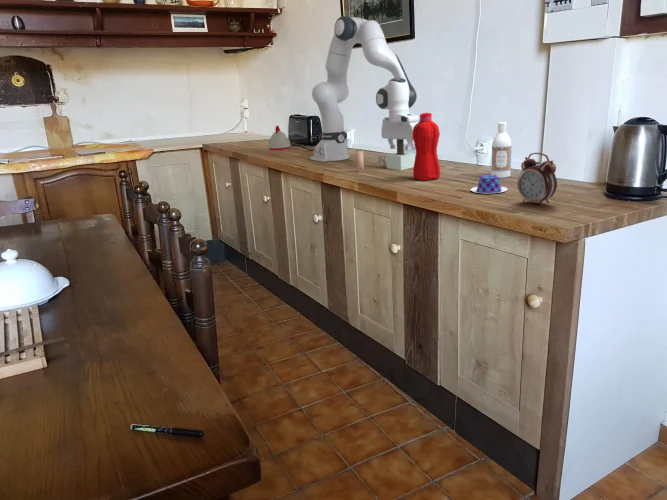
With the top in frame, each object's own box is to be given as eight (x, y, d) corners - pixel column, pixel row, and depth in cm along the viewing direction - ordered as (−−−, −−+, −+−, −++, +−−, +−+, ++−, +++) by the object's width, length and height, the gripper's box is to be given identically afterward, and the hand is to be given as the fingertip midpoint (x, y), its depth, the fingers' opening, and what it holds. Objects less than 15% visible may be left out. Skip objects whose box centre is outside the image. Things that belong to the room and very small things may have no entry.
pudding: (494, 197, 166) (494, 180, 164) (463, 192, 175) (463, 177, 173) (514, 190, 173) (515, 174, 171) (483, 186, 182) (484, 171, 180)
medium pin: (356, 172, 228) (354, 151, 225) (361, 171, 230) (360, 150, 227) (360, 172, 226) (359, 152, 223) (365, 171, 227) (364, 151, 225)
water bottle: (406, 179, 204) (404, 114, 196) (430, 175, 207) (429, 111, 200) (419, 182, 195) (417, 114, 188) (443, 178, 199) (443, 112, 192)
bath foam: (491, 178, 193) (492, 123, 187) (491, 174, 199) (492, 122, 193) (510, 178, 191) (512, 122, 185) (510, 174, 197) (512, 121, 191)
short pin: (377, 167, 236) (376, 156, 234) (382, 166, 237) (381, 155, 236) (382, 168, 233) (381, 157, 232) (386, 167, 235) (386, 156, 233)
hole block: (386, 168, 232) (386, 154, 230) (400, 165, 237) (400, 152, 235) (401, 169, 225) (400, 156, 223) (415, 166, 230) (414, 153, 228)
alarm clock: (515, 202, 156) (517, 152, 151) (525, 199, 158) (527, 150, 153) (547, 208, 147) (550, 155, 142) (557, 205, 149) (561, 152, 145)
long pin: (396, 167, 231) (395, 136, 227) (400, 166, 233) (399, 135, 228) (400, 168, 229) (400, 136, 225) (405, 167, 231) (404, 135, 226)
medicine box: (415, 161, 244) (415, 143, 241) (416, 163, 240) (415, 144, 237) (398, 162, 245) (398, 144, 242) (398, 164, 240) (398, 145, 238)
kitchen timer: (266, 151, 327) (263, 127, 322) (272, 148, 340) (269, 125, 335) (287, 150, 324) (285, 126, 320) (292, 147, 337) (290, 124, 333)
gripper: (377, 117, 230) (378, 149, 234) (411, 118, 215) (412, 151, 219) (387, 116, 234) (388, 147, 238) (421, 116, 218) (422, 149, 223)
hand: (400, 149), depth 228 cm, fingers open, 8 cm apart
